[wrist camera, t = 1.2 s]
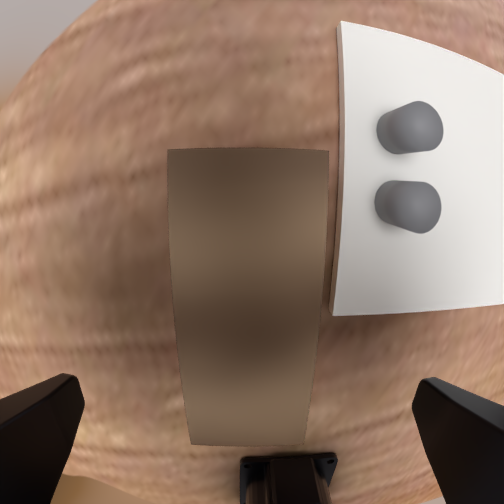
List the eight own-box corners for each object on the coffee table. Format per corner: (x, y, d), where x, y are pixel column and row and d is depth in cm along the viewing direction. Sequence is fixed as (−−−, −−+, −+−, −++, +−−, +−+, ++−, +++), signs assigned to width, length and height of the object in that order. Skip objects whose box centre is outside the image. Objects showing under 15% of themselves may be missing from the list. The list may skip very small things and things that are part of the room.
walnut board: (291, 387, 16) (303, 444, 12) (201, 387, 16) (191, 444, 12) (303, 159, 14) (328, 150, 9) (191, 158, 14) (167, 149, 9)
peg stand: (529, 295, 15) (558, 311, 12) (328, 309, 15) (348, 341, 12) (539, 100, 12) (571, 96, 9) (336, 27, 12) (356, -4, 9)
